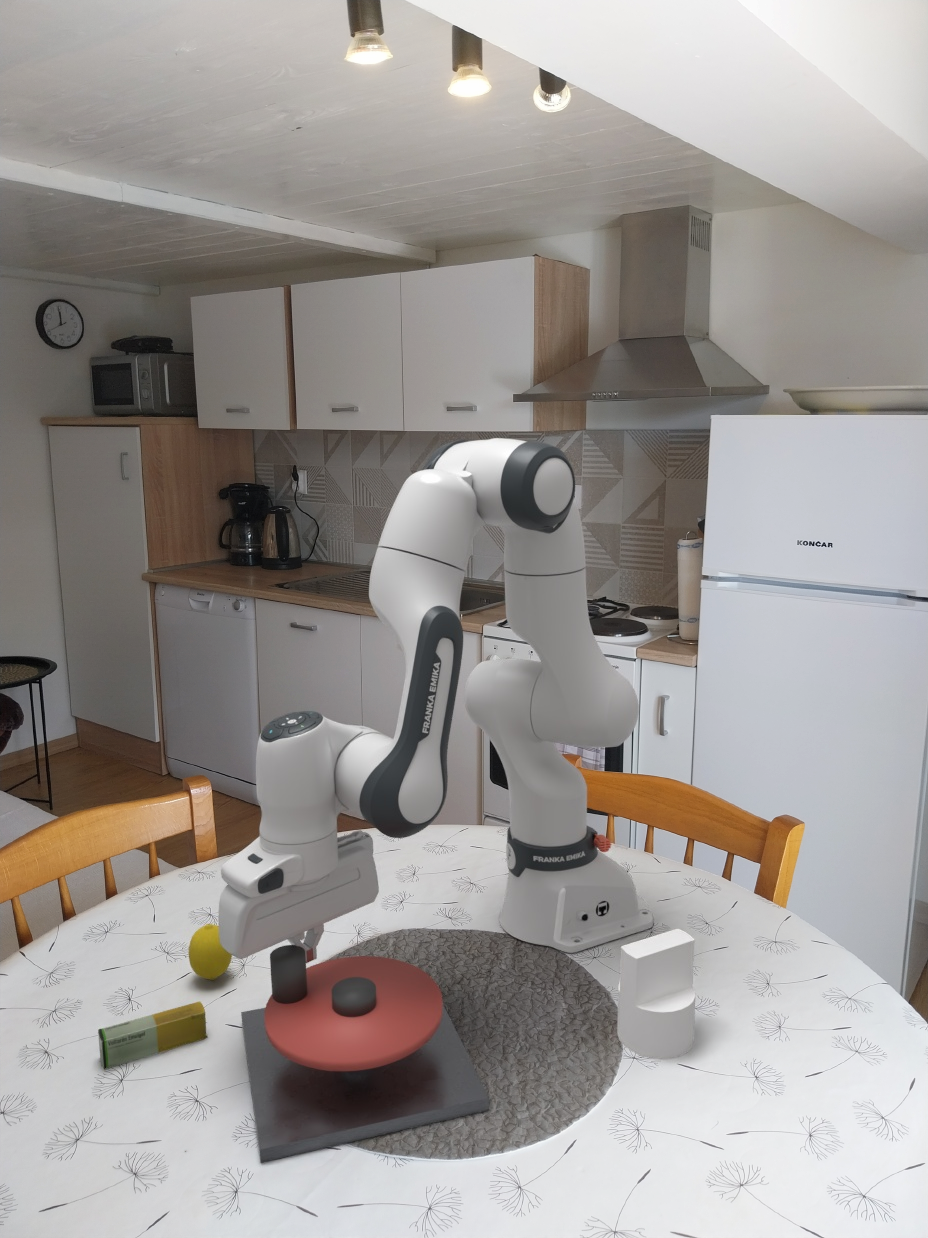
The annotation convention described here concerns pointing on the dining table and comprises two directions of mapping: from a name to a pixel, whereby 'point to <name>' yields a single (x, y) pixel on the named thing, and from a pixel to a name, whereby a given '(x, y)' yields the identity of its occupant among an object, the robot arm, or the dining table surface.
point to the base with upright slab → (657, 995)
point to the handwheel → (349, 1010)
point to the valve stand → (355, 1093)
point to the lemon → (208, 953)
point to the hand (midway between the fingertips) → (306, 960)
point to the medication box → (151, 1034)
